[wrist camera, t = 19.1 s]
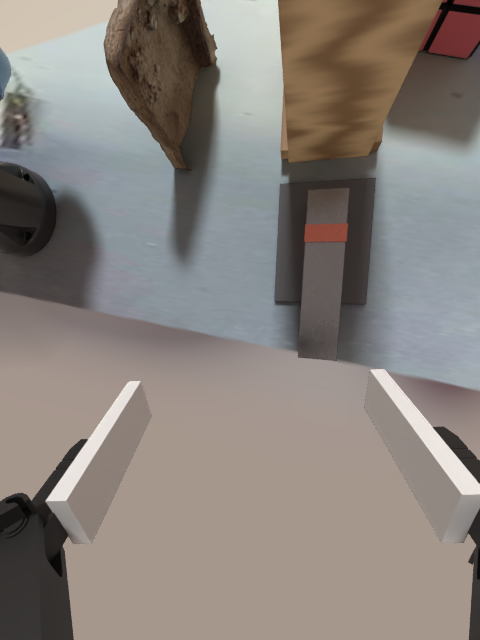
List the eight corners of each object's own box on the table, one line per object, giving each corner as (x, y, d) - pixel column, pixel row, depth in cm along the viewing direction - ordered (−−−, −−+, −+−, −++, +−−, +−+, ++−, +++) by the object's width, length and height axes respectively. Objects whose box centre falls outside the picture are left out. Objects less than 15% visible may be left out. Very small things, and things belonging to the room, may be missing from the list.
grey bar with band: (332, 353, 34) (337, 361, 30) (297, 350, 35) (297, 357, 31) (343, 202, 33) (350, 187, 28) (306, 204, 34) (307, 189, 29)
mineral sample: (191, 174, 38) (123, 92, 23) (168, 169, 38) (87, 86, 24) (223, 52, 35) (169, -126, 21) (197, 49, 36) (128, -124, 21)
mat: (274, 300, 36) (274, 300, 36) (280, 185, 35) (280, 184, 34) (364, 304, 34) (365, 304, 33) (374, 179, 32) (375, 177, 32)
